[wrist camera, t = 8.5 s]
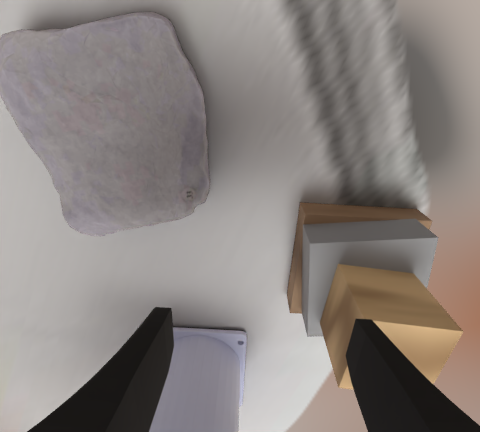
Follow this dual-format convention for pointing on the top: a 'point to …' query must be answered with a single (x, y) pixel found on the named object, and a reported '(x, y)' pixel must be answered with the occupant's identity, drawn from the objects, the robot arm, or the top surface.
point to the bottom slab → (336, 214)
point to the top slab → (359, 256)
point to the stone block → (111, 119)
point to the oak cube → (387, 318)
